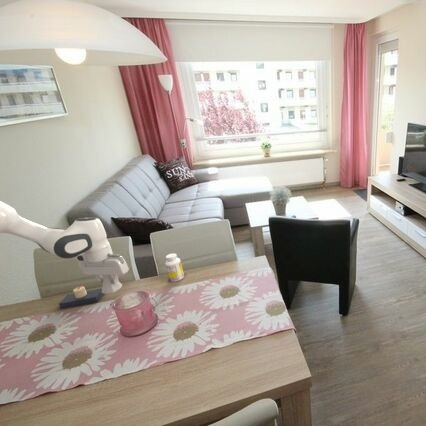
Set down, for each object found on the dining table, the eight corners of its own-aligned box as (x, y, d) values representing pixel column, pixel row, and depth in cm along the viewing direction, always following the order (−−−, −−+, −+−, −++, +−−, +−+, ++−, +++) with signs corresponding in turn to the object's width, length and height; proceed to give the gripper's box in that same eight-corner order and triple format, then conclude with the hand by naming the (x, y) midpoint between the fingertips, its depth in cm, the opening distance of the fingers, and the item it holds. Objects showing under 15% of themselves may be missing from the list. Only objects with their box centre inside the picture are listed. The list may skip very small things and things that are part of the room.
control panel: (61, 309, 126) (58, 303, 125) (69, 299, 132) (67, 294, 131) (97, 302, 129) (95, 296, 128) (104, 293, 135) (102, 288, 134)
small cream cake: (84, 296, 128) (81, 289, 127) (74, 299, 127) (70, 291, 126) (88, 292, 132) (85, 284, 131) (78, 294, 131) (75, 286, 130)
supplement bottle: (180, 273, 148) (174, 251, 144) (187, 277, 145) (181, 254, 140) (167, 279, 143) (160, 256, 139) (174, 283, 140) (167, 260, 135)
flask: (114, 293, 123) (107, 273, 120) (98, 294, 124) (90, 274, 120) (125, 284, 130) (119, 264, 127) (110, 285, 130) (103, 265, 127)
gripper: (127, 250, 122) (136, 279, 127) (85, 250, 125) (95, 277, 130) (115, 257, 116) (125, 287, 121) (71, 257, 120) (82, 285, 124)
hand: (109, 282), depth 125 cm, fingers closed on flask, 5 cm apart
